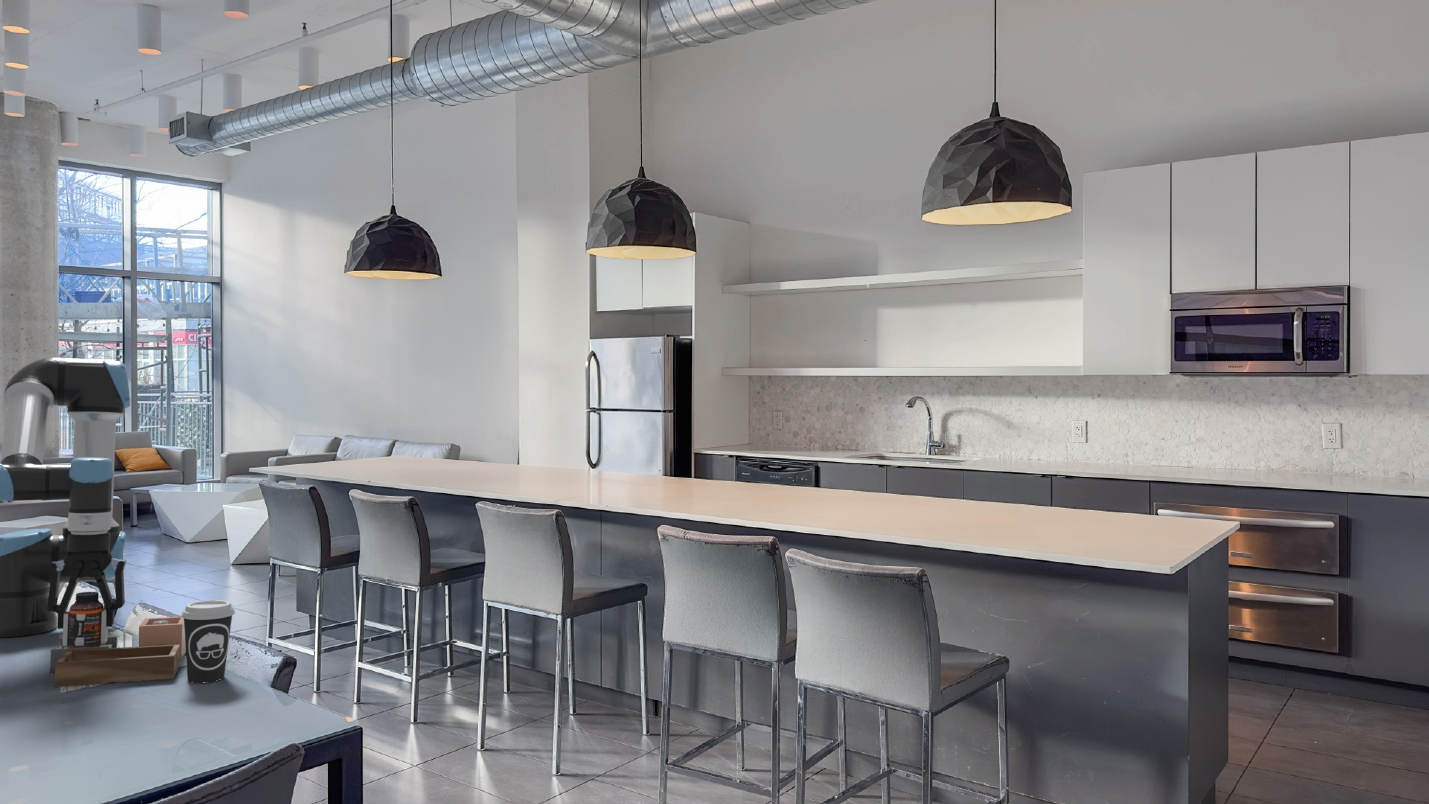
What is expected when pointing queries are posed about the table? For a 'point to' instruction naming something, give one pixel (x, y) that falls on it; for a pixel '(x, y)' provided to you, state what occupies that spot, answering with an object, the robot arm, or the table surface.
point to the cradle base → (58, 653)
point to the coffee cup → (207, 639)
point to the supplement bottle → (85, 621)
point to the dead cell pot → (163, 632)
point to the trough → (117, 665)
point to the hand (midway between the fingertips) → (85, 643)
